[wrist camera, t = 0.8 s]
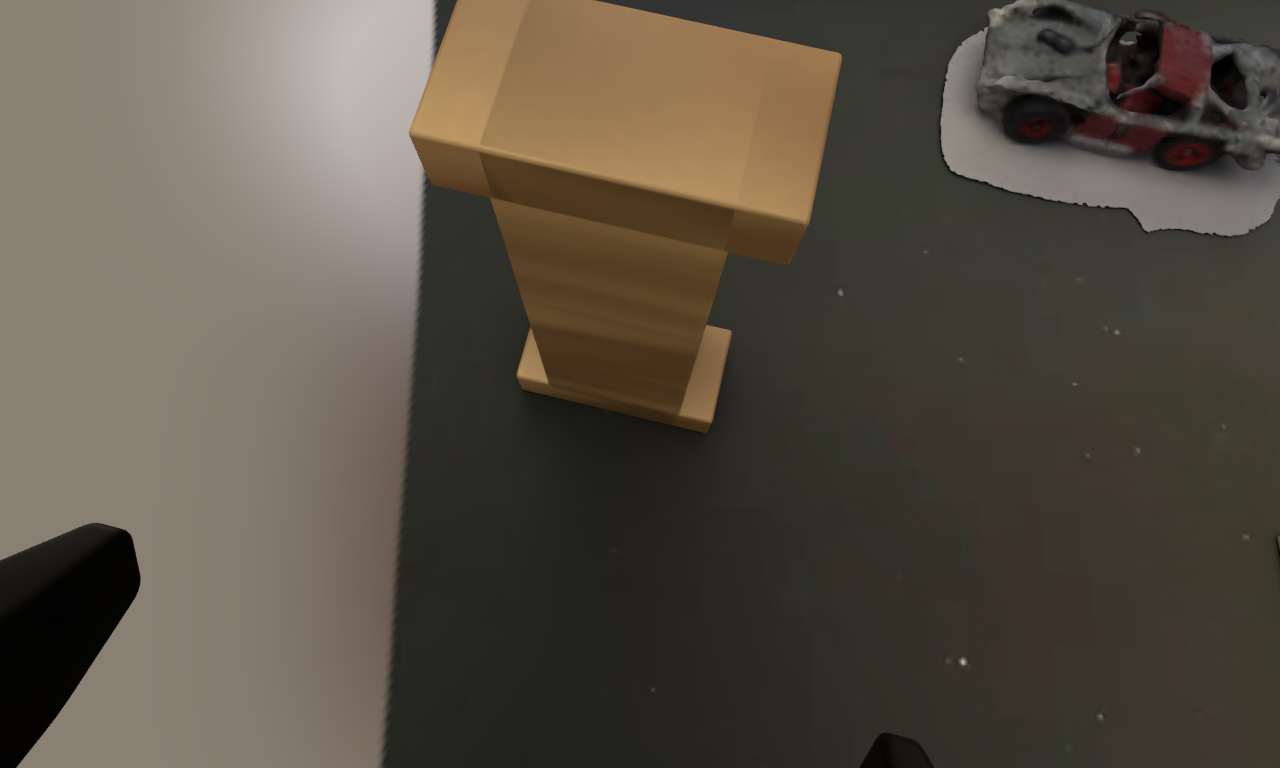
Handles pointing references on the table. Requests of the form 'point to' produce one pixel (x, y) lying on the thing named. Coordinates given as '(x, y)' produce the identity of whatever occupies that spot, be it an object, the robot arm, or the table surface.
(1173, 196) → the toy car
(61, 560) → the robot arm
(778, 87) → the letter I
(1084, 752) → the table surface
